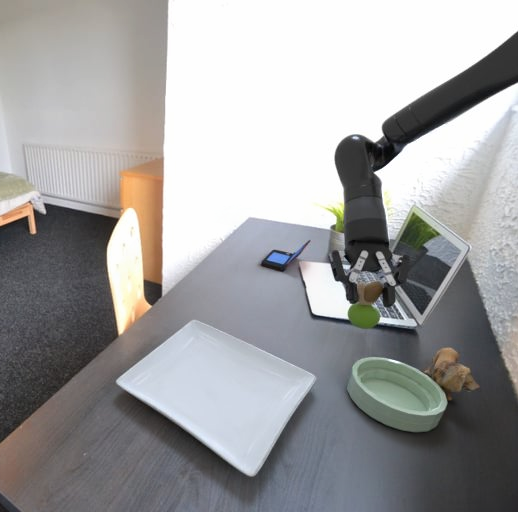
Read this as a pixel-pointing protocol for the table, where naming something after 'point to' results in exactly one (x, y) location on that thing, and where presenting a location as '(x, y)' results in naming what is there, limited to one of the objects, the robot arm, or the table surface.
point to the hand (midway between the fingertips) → (370, 304)
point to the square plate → (220, 392)
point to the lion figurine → (450, 373)
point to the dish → (396, 394)
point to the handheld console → (281, 258)
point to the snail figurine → (366, 305)
